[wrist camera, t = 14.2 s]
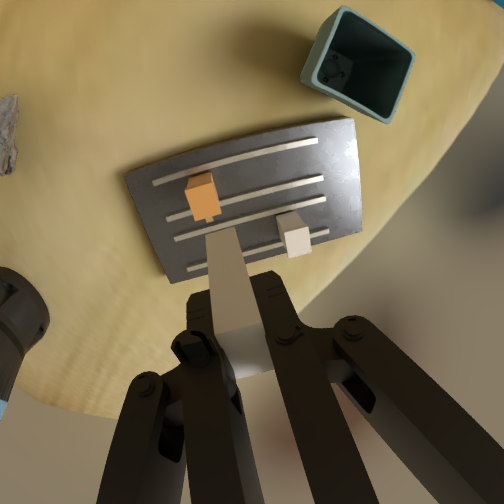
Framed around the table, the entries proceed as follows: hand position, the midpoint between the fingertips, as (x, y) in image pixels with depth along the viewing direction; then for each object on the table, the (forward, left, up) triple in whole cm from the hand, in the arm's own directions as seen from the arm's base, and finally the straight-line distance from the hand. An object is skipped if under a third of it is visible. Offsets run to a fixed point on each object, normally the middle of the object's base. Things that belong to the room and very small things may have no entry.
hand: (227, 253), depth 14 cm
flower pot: (+15, +9, -19) cm, 26 cm away
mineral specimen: (-24, +15, -19) cm, 34 cm away
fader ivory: (+6, -8, -16) cm, 19 cm away
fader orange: (-2, -1, -16) cm, 17 cm away
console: (+3, -5, -19) cm, 20 cm away
